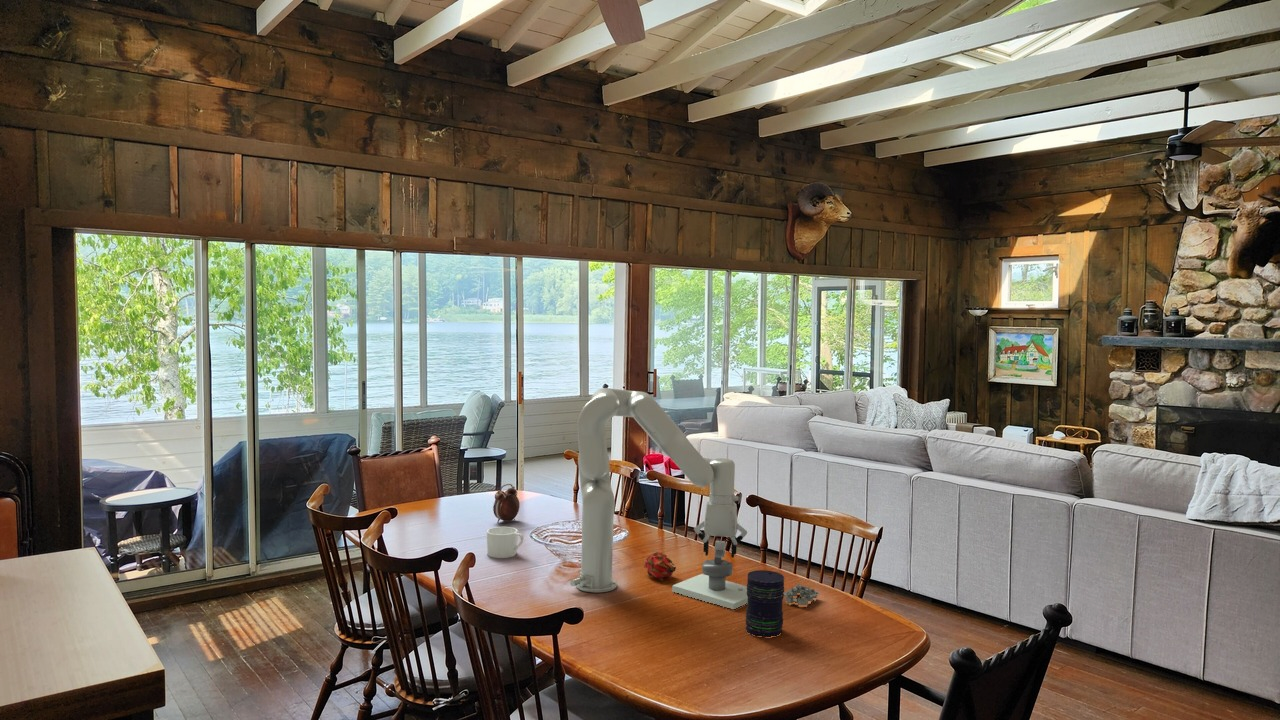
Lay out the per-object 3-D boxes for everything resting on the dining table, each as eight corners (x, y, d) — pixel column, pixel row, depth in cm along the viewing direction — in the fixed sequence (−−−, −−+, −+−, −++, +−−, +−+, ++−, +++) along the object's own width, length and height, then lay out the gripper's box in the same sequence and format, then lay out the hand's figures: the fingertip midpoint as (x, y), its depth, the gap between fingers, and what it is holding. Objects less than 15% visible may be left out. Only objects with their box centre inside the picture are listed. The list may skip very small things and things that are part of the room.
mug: (480, 556, 274) (480, 532, 274) (497, 547, 284) (497, 525, 283) (514, 561, 269) (515, 537, 269) (530, 553, 279) (531, 530, 278)
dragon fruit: (648, 575, 263) (671, 592, 253) (633, 565, 258) (655, 581, 248) (663, 553, 264) (686, 568, 255) (648, 542, 259) (671, 557, 250)
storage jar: (773, 641, 208) (775, 584, 208) (739, 632, 214) (740, 577, 213) (788, 629, 217) (790, 574, 216) (754, 621, 222) (756, 567, 221)
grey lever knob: (731, 578, 237) (732, 556, 236) (700, 575, 238) (701, 554, 238) (734, 562, 252) (735, 542, 251) (705, 560, 253) (706, 540, 253)
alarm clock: (511, 518, 324) (512, 481, 323) (520, 520, 321) (520, 483, 321) (491, 523, 315) (492, 485, 315) (500, 525, 313) (501, 487, 312)
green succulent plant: (804, 610, 232) (804, 596, 232) (780, 604, 237) (781, 590, 236) (821, 600, 240) (821, 587, 240) (798, 594, 245) (798, 581, 244)
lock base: (733, 610, 230) (734, 588, 229) (672, 591, 244) (672, 570, 243) (761, 597, 241) (762, 575, 241) (701, 580, 255) (701, 559, 255)
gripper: (750, 498, 252) (748, 554, 253) (694, 494, 255) (693, 549, 256) (749, 503, 244) (747, 561, 246) (692, 500, 247) (690, 556, 248)
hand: (719, 555), depth 251 cm, fingers open, 7 cm apart
